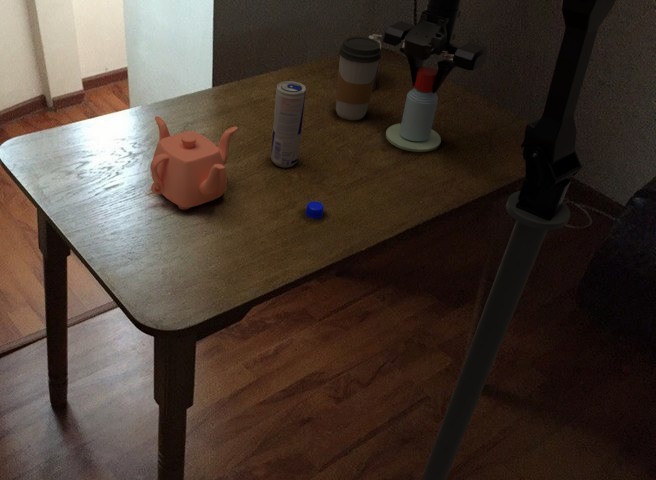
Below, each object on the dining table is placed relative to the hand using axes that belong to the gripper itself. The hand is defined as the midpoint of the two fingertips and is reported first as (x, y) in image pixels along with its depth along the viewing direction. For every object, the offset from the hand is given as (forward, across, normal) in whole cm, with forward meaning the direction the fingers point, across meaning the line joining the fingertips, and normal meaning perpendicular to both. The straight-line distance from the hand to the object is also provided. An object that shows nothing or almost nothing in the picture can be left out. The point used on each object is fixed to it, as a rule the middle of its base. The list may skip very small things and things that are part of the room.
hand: (424, 89), depth 135 cm
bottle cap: (+11, +1, -36) cm, 38 cm away
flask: (+11, -21, +17) cm, 29 cm away
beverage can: (+11, -13, -26) cm, 31 cm away
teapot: (+11, -18, -45) cm, 50 cm away
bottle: (+10, 0, 0) cm, 10 cm away
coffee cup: (+11, -15, 0) cm, 18 cm away
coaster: (+10, 0, 0) cm, 11 cm away
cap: (0, 0, 0) cm, 0 cm away
